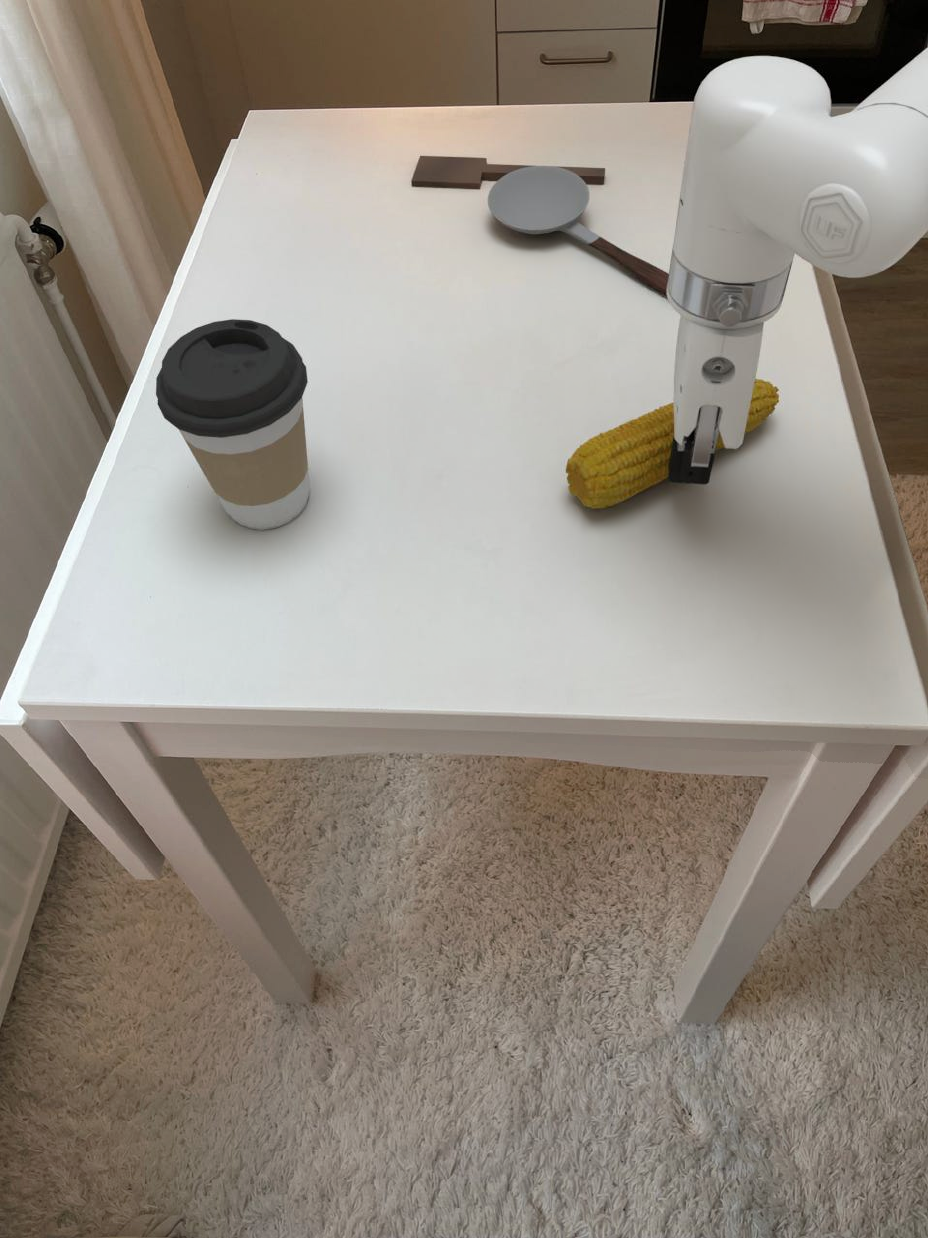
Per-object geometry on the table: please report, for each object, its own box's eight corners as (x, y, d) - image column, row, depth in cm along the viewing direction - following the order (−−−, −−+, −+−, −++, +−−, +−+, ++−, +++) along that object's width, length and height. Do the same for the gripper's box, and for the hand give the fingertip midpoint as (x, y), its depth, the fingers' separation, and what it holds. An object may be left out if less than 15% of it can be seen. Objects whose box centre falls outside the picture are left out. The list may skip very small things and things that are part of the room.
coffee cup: (353, 465, 84) (325, 321, 72) (302, 562, 77) (262, 422, 65) (236, 442, 86) (190, 299, 74) (178, 534, 80) (116, 394, 68)
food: (596, 532, 78) (600, 480, 73) (554, 492, 81) (556, 439, 76) (786, 426, 84) (802, 372, 79) (741, 393, 87) (754, 338, 82)
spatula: (606, 167, 111) (606, 158, 110) (602, 193, 108) (603, 184, 107) (420, 160, 114) (419, 152, 113) (411, 186, 110) (410, 177, 110)
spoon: (538, 177, 109) (538, 152, 106) (774, 310, 95) (780, 285, 92) (468, 224, 106) (466, 200, 103) (702, 369, 91) (706, 345, 89)
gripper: (793, 351, 57) (737, 550, 72) (781, 213, 66) (733, 416, 80) (666, 345, 58) (636, 543, 73) (671, 209, 67) (644, 410, 81)
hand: (687, 476), depth 77 cm, fingers closed
